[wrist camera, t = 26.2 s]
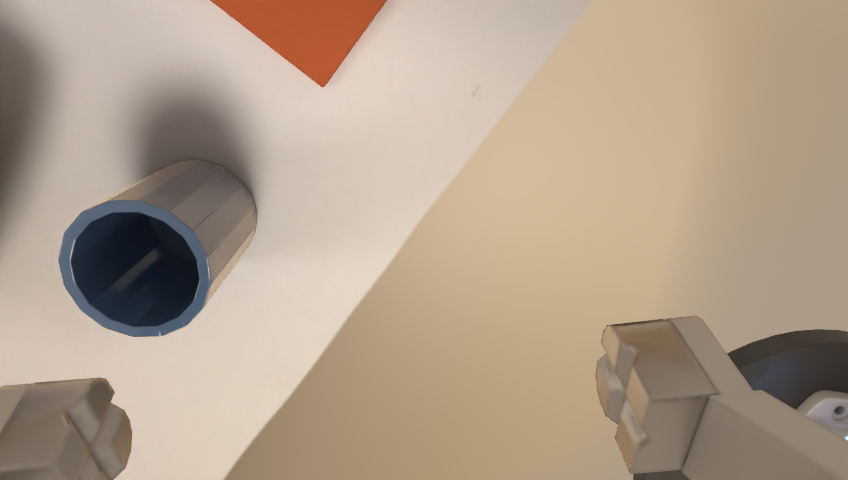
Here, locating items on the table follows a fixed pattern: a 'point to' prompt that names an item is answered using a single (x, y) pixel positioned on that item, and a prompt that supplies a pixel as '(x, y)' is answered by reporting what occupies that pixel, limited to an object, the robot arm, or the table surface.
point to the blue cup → (158, 248)
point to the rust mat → (306, 29)
